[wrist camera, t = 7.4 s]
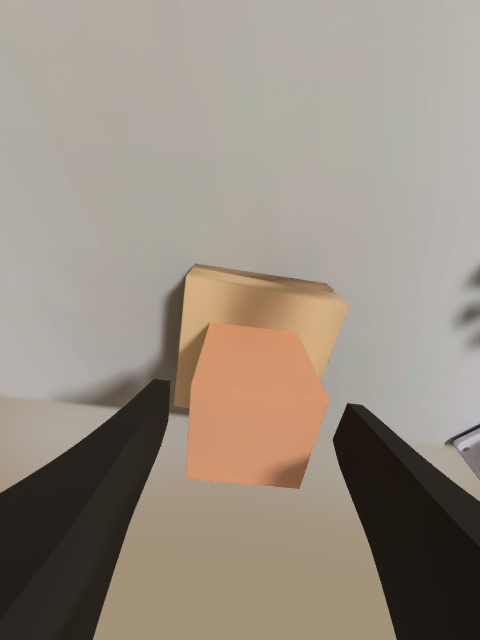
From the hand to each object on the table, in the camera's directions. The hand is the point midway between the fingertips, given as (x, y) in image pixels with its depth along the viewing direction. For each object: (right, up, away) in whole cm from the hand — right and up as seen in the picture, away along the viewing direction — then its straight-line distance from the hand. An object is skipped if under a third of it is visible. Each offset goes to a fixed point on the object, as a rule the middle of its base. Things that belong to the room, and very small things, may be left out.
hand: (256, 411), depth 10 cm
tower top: (0, +2, +5) cm, 6 cm away
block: (0, +1, +3) cm, 4 cm away
